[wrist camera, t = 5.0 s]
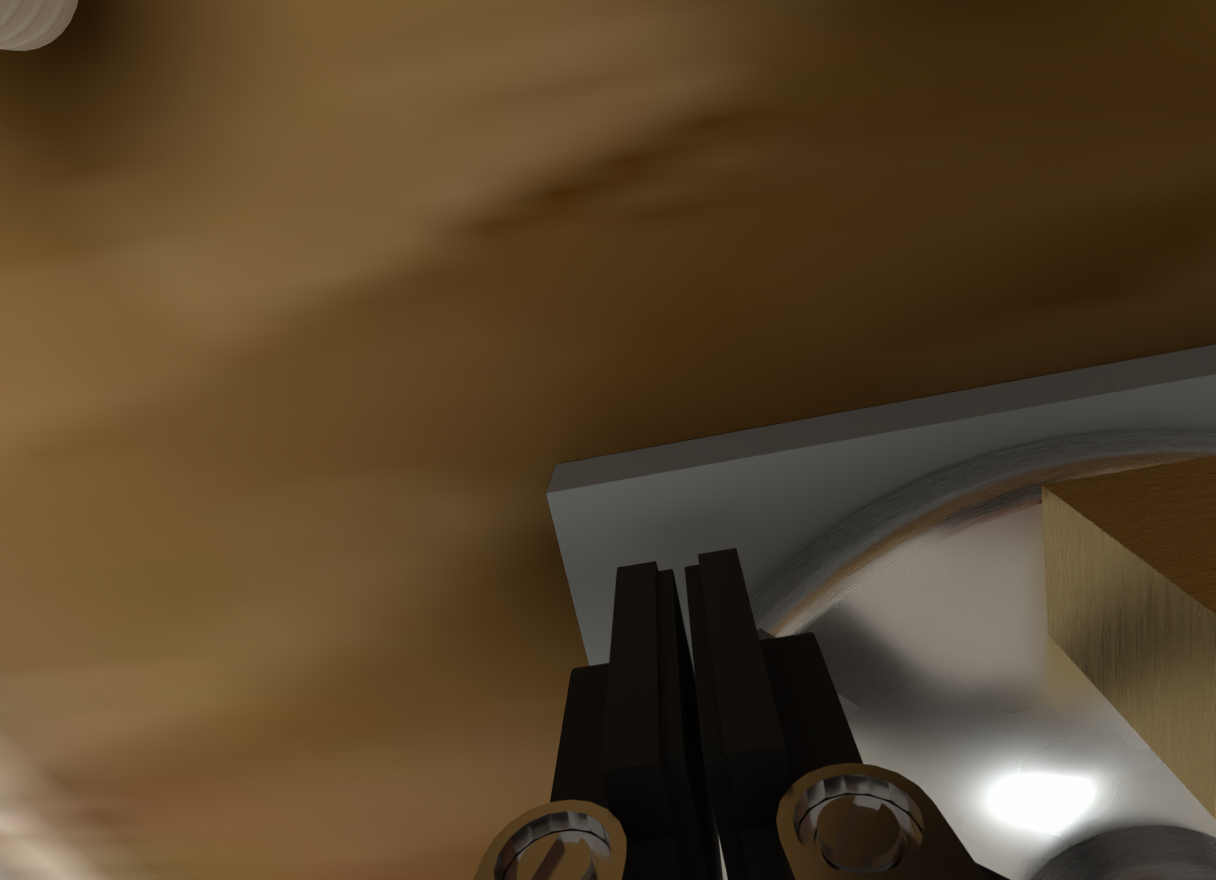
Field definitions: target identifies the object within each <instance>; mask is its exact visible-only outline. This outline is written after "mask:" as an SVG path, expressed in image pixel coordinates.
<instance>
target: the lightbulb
mask: <svg viewBox="0 0 1216 880" xmlns="http://www.w3.org/2000/svg"><path fill="white" fill-rule="evenodd" d="M77 4H78V0H0V49H4V50H13V51H27V50H32V49H37V48H40V47H42V46H44V45H47V44H49V43H51V42H52V41H53V40H55V39H56V38H57V37H58V36H59V35H61V34H62V33H63V31H64V30H65V29H66V27H67V26H68V24H69V23H70V22H71V19H72V17H73V15H74V13H75V10H76V8H77Z"/></svg>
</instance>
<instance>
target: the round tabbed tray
mask: <svg viewBox="0 0 1216 880" xmlns="http://www.w3.org/2000/svg"><path fill="white" fill-rule="evenodd" d="M750 605H751V609H752V613H753V617H754V621H755V625H756V629H757V633H758V637H759V640H763V639H770V638H776V637H783V636H790V635H796V634H803V633H809V632H813V633H814V635H815V637H816V639H817V641H818V644H819V647H820V649H821V652H822V655H823V657H824V660H825V663H826V665H827V668H828V671H829V673H830V676H831V679H832V681H833V684H834V687H835V689H836V692H837V695H838V697H839V700H840V703H841V705H842V708H843V711H844V713H845V716H846V719H847V721H848V724H849V727H850V729H851V732H852V735H853V737H854V740H855V743H856V745H857V748H858V751H859V753H860V756H861V759H862V761H863V764H869V765H876V766H879V767H882V768H885V769H888V770H891V771H894V772H897V773H899V774H901V775H902V776H904V777H906V778H907V779H909V780H911V781H912V782H914V783H916V784H917V785H918V786H919V787H920V788H921V789H922V790H923V791H924V792H925V793H926V794H927V795H928V796H929V797H930V798H931V799H932V800H933V802H934V803H935V805H936V806H937V807H938V809H939V810H940V812H941V813H942V815H943V816H944V818H945V819H946V821H947V822H948V823H949V825H950V826H951V828H952V829H953V831H954V832H955V834H956V835H957V837H958V838H959V839H960V841H961V842H962V844H963V845H964V847H965V848H966V850H967V851H968V853H969V854H970V855H971V857H972V858H973V860H974V861H975V862H976V863H978V864H980V865H982V866H984V867H986V868H988V869H990V870H992V871H994V872H996V873H998V874H1000V875H1002V876H1004V877H1006V878H1008V879H1010V880H1216V433H1209V432H1201V431H1171V430H1125V431H1116V432H1107V433H1099V434H1090V435H1081V436H1072V437H1063V438H1057V439H1052V440H1048V441H1044V442H1040V443H1035V444H1031V445H1027V446H1022V447H1018V448H1014V449H1009V450H1005V451H1001V452H997V453H992V454H989V455H987V456H984V457H981V458H978V459H975V460H973V461H970V462H967V463H964V464H961V465H959V466H956V467H953V468H950V469H947V470H944V471H942V472H939V473H936V474H933V475H930V476H928V477H926V478H924V479H922V480H920V481H918V482H916V483H914V484H912V485H910V486H908V487H906V488H904V489H901V490H899V491H897V492H895V493H893V494H891V495H889V496H887V497H885V498H883V499H881V500H879V501H877V502H875V503H873V504H871V505H869V506H868V507H866V508H865V509H863V510H861V511H860V512H858V513H857V514H855V515H854V516H852V517H851V518H849V519H847V520H846V521H844V522H843V523H841V524H840V525H838V526H837V527H835V528H833V529H832V530H830V531H829V532H827V533H826V534H824V535H823V536H821V537H819V538H818V539H817V540H816V541H814V542H813V543H812V544H811V545H810V546H808V547H807V548H806V549H805V550H803V551H802V552H801V553H800V554H799V555H797V556H796V557H795V558H794V559H793V560H791V561H790V562H789V563H788V564H787V565H785V566H784V567H783V568H782V569H781V570H779V571H778V572H777V573H776V574H774V575H773V576H772V577H771V578H770V579H769V580H768V581H767V582H766V584H765V585H764V586H763V587H762V588H761V589H760V590H759V591H758V592H757V593H756V594H755V595H754V596H753V597H752V598H751V600H750ZM718 836H719V835H718ZM719 845H720V854H721V863H722V873H723V880H728V878H727V873H726V868H725V864H724V859H723V854H722V849H721V844H720V839H719Z"/></svg>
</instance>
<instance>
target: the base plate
mask: <svg viewBox="0 0 1216 880" xmlns="http://www.w3.org/2000/svg"><path fill="white" fill-rule="evenodd" d="M1125 430H1171V431H1201V432H1209V433H1216V344H1215V345H1209V346H1204V347H1198V348H1193V349H1187V350H1182V351H1176V352H1171V353H1165V354H1160V355H1154V356H1149V357H1143V358H1138V359H1132V360H1127V361H1121V362H1116V363H1110V364H1105V365H1099V366H1094V367H1088V368H1083V369H1077V370H1072V371H1066V372H1061V373H1055V374H1050V375H1044V376H1039V377H1033V378H1028V379H1022V380H1017V381H1011V382H1006V383H1000V384H995V385H989V386H984V387H978V388H973V389H967V390H962V391H956V392H951V393H945V394H940V395H934V396H929V397H924V398H918V399H913V400H907V401H902V402H896V403H891V404H885V405H880V406H874V407H869V408H863V409H858V410H852V411H847V412H841V413H836V414H830V415H825V416H819V417H814V418H808V419H803V420H797V421H792V422H786V423H781V424H775V425H770V426H764V427H759V428H753V429H748V430H742V431H737V432H731V433H726V434H720V435H715V436H709V437H704V438H698V439H693V440H687V441H682V442H676V443H671V444H665V445H660V446H654V447H649V448H643V449H638V450H632V451H627V452H622V453H616V454H611V455H605V456H600V457H594V458H589V459H583V460H578V461H572V462H567V463H561V464H556V465H555V468H554V471H553V474H552V477H551V480H550V483H549V486H548V489H547V492H546V496H547V500H548V504H549V508H550V512H551V516H552V520H553V524H554V528H555V532H556V536H557V540H558V544H559V548H560V552H561V556H562V560H563V564H564V568H565V572H566V575H567V579H568V583H569V587H570V591H571V595H572V599H573V603H574V607H575V611H576V615H577V619H578V623H579V627H580V631H581V635H582V639H583V643H584V647H585V651H586V655H587V659H588V663H589V666H591V665H598V664H604V663H609V658H610V645H611V633H612V621H613V609H614V597H615V585H616V573H617V567H623V566H629V565H635V564H641V563H647V562H653V561H656V563H657V566H658V570H659V571H662V570H668V569H673V572H674V577H675V581H676V586H677V591H678V596H679V601H680V606H681V611H682V616H683V621H684V626H685V630H686V635H687V640H688V645H689V650H690V655H691V660H692V665H693V670H694V662H693V652H692V642H691V631H690V621H689V610H688V600H687V589H686V579H685V568H684V567H686V566H692V565H698V564H699V559H698V554H702V553H708V552H714V551H720V550H726V549H732V548H737V552H738V556H739V560H740V564H741V568H742V572H743V576H744V580H745V584H746V588H747V592H748V596H749V600H751V598H752V597H753V596H754V595H755V594H756V593H757V592H758V591H759V590H760V589H761V588H762V587H763V586H764V585H765V584H766V582H767V581H768V580H769V579H770V578H771V577H772V576H773V575H774V574H776V573H777V572H778V571H779V570H781V569H782V568H783V567H784V566H785V565H787V564H788V563H789V562H790V561H791V560H793V559H794V558H795V557H796V556H797V555H799V554H800V553H801V552H802V551H803V550H805V549H806V548H807V547H808V546H810V545H811V544H812V543H813V542H814V541H816V540H817V539H818V538H819V537H821V536H823V535H824V534H826V533H827V532H829V531H830V530H832V529H833V528H835V527H837V526H838V525H840V524H841V523H843V522H844V521H846V520H847V519H849V518H851V517H852V516H854V515H855V514H857V513H858V512H860V511H861V510H863V509H865V508H866V507H868V506H869V505H871V504H873V503H875V502H877V501H879V500H881V499H883V498H885V497H887V496H889V495H891V494H893V493H895V492H897V491H899V490H901V489H904V488H906V487H908V486H910V485H912V484H914V483H916V482H918V481H920V480H922V479H924V478H926V477H928V476H930V475H933V474H936V473H939V472H942V471H944V470H947V469H950V468H953V467H956V466H959V465H961V464H964V463H967V462H970V461H973V460H975V459H978V458H981V457H984V456H987V455H989V454H992V453H997V452H1001V451H1005V450H1009V449H1014V448H1018V447H1022V446H1027V445H1031V444H1035V443H1040V442H1044V441H1048V440H1052V439H1057V438H1063V437H1072V436H1081V435H1090V434H1099V433H1107V432H1116V431H1125ZM694 675H695V673H694Z"/></svg>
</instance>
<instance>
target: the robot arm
mask: <svg viewBox="0 0 1216 880" xmlns="http://www.w3.org/2000/svg"><path fill="white" fill-rule="evenodd" d="M698 559H699V564H698V565H692V566H686V567H684V568H685V579H686V589H687V600H688V610H689V621H690V631H691V642H692V652H693V662H694V670H693V665H692V660H691V655H690V650H689V645H688V640H687V635H686V630H685V626H684V621H683V616H682V611H681V606H680V601H679V596H678V591H677V586H676V581H675V577H674V572H673V569H668V570H662V571H659V570H658V566H657V563H656V561H653V562H647V563H641V564H635V565H629V566H623V567H617V573H616V585H615V597H614V609H613V621H612V633H611V645H610V658H609V663H604V664H598V665H591V666H585V667H578V668H574V669H573V670H572V673H571V676H570V682H569V688H568V694H567V700H566V706H565V713H564V719H563V725H562V731H561V738H560V744H559V750H558V756H557V762H556V769H555V775H554V781H553V787H552V794H551V800H550V802H549V803H547V804H544V805H541V806H539V807H536V808H534V809H531V810H528V811H527V812H525V813H524V814H522V815H521V816H519V817H518V818H516V819H514V820H513V821H511V822H510V823H509V824H508V825H507V826H506V827H505V828H504V829H503V830H502V831H501V832H500V833H499V834H498V835H497V836H496V837H495V838H494V839H493V841H492V842H491V844H490V846H489V847H488V849H487V851H486V852H485V854H484V856H483V858H482V860H481V862H480V865H479V867H478V870H477V872H476V875H475V877H474V879H473V880H723V873H722V863H721V854H720V845H719V839H720V844H721V849H722V854H723V859H724V864H725V868H726V873H727V878H728V880H1010V879H1008V878H1006V877H1004V876H1002V875H1000V874H998V873H996V872H994V871H992V870H990V869H988V868H986V867H984V866H982V865H980V864H978V863H976V862H975V861H974V860H973V858H972V857H971V855H970V854H969V853H968V851H967V850H966V848H965V847H964V845H963V844H962V842H961V841H960V839H959V838H958V837H957V835H956V834H955V832H954V831H953V829H952V828H951V826H950V825H949V823H948V822H947V821H946V819H945V818H944V816H943V815H942V813H941V812H940V810H939V809H938V807H937V806H936V805H935V803H934V802H933V800H932V799H931V798H930V797H929V796H928V795H927V794H926V793H925V792H924V791H923V790H922V789H921V788H920V787H919V786H918V785H917V784H916V783H914V782H912V781H911V780H909V779H907V778H906V777H904V776H902V775H901V774H899V773H897V772H894V771H891V770H888V769H885V768H882V767H879V766H876V765H869V764H863V761H862V759H861V756H860V753H859V751H858V748H857V745H856V743H855V740H854V737H853V735H852V732H851V729H850V727H849V724H848V721H847V719H846V716H845V713H844V711H843V708H842V705H841V703H840V700H839V697H838V695H837V692H836V689H835V687H834V684H833V681H832V679H831V676H830V673H829V671H828V668H827V665H826V663H825V660H824V657H823V655H822V652H821V649H820V647H819V644H818V641H817V639H816V637H815V635H814V633H813V632H809V633H803V634H796V635H790V636H783V637H776V638H770V639H763V640H759V637H758V633H757V629H756V625H755V621H754V617H753V613H752V609H751V605H750V600H749V596H748V592H747V588H746V584H745V580H744V576H743V572H742V568H741V564H740V560H739V556H738V552H737V548H732V549H726V550H720V551H714V552H708V553H702V554H698ZM694 673H695V675H694ZM718 835H719V836H718Z"/></svg>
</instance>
